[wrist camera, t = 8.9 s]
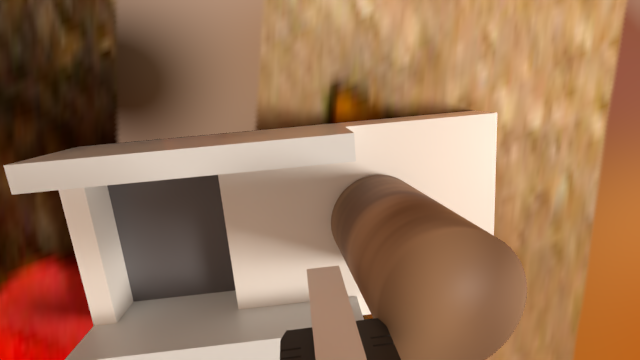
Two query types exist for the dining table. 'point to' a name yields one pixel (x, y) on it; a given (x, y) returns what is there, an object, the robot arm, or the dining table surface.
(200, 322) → the channel
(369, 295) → the brown cylinder
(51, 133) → the dining table surface
